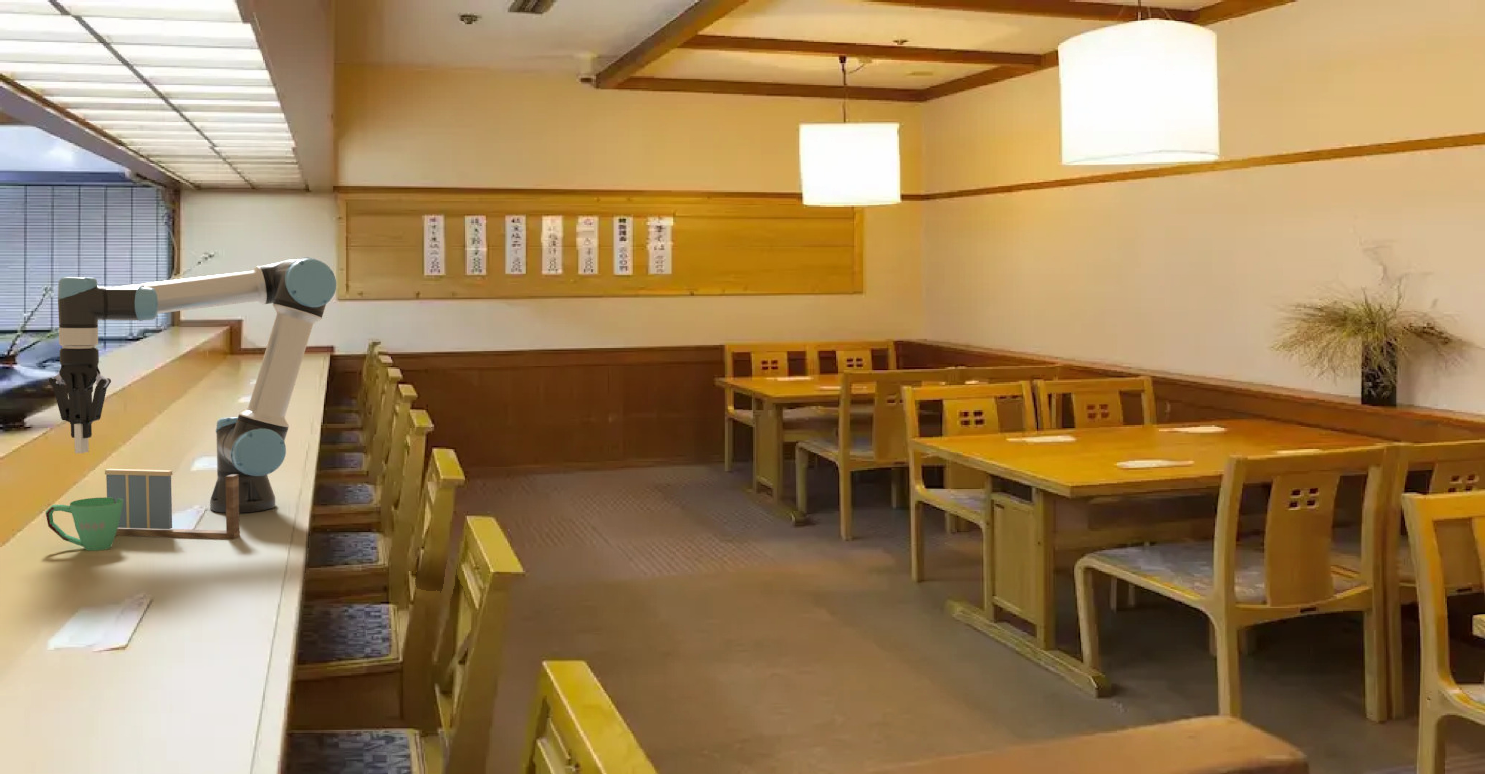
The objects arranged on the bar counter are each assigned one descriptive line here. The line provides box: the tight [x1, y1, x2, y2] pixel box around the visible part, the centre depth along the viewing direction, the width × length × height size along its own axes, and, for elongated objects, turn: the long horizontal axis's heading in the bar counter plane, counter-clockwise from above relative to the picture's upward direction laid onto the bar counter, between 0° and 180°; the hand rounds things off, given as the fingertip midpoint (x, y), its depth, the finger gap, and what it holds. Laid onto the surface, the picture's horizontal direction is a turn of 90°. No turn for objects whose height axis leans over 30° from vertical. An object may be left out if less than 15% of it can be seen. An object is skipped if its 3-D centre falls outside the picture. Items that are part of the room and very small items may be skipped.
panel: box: [104, 468, 173, 529], centre depth 259 cm, size 14×2×13 cm, turn 88°
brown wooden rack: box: [115, 474, 241, 540], centre depth 259 cm, size 31×3×14 cm, turn 88°
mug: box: [45, 496, 123, 552], centre depth 245 cm, size 15×10×10 cm
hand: (81, 452), depth 259 cm, fingers closed
